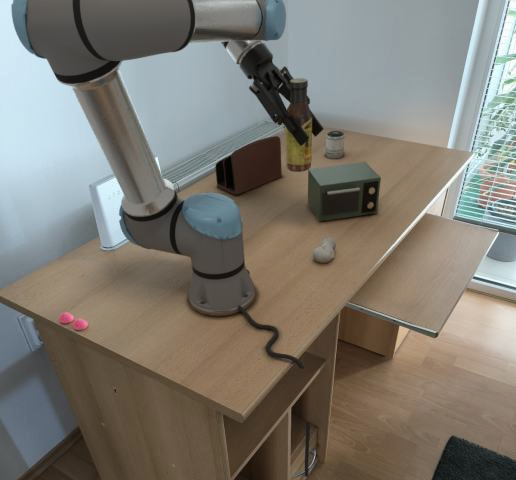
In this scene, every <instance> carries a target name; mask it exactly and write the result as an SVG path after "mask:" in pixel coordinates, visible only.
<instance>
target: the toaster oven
mask: <svg viewBox="0 0 516 480" xmlns="http://www.w3.org/2000/svg"><path fill="white" fill-rule="evenodd" d="M381 181H382V178H381V176H380V175H379V173H377V172H376V170H374V169H373V168H372V167H371V166H370V165H369V163H367V161H358V162H352V163H351V162H350V163H345V164H337V165H336V164H335V165H329V166H322V167H314V168H313V167H312V168H309V169H308V170H307V204H308V206H309V208H310V209H311V211H312V212H313V214H314V215H315V217H316V219H317V220H318V222H321V223H325V222H327V221H331V220H337V219H345V218H352V217H358V216H359V217H361V216H366V215H368V216H373V215H375V214H378V207H379V199H380V189H381Z"/></svg>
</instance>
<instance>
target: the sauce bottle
mask: <svg viewBox="0 0 516 480" xmlns="http://www.w3.org/2000/svg"><path fill="white" fill-rule="evenodd" d="M308 81H309V79H306V78H303V77H296V78H294V79H292V80H290V89H291V98H290V100H291V103H290V102H289V105H288V107H286V109H287V111H288V113H289V117H290V116H291V115H293V116H294V118H295V119H296V120H297V122H298V123H299V124H300V126H301V127H302V128H303V130H304V131H305V133H306V134H307V135H308V137H309V139H308V140H307V141H306V142H305V143H304V144H303V145H302V146H300V145H299V143H298V142H297V141H296V139H295V138H294V137H293V135H292V134H291V133H290V132H289V131H288V129H287V128H286V127H285V162H286V168H287V170H289V171H291V172H295V173H302V172H305V171H308V169H311V167H312V159H313V158H312V156H313V155H312V153H313V152H312V151H313V133H312V114H311V112H312V110H311V108H310V106H309V105H310V104H309V105H308V102H307V96H308V86H309V82H308ZM310 110H311V111H310Z"/></svg>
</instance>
